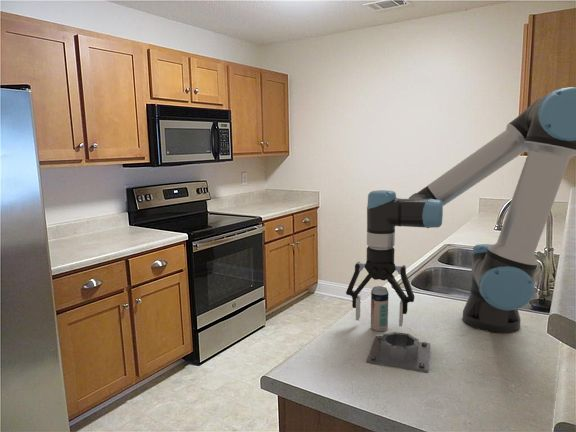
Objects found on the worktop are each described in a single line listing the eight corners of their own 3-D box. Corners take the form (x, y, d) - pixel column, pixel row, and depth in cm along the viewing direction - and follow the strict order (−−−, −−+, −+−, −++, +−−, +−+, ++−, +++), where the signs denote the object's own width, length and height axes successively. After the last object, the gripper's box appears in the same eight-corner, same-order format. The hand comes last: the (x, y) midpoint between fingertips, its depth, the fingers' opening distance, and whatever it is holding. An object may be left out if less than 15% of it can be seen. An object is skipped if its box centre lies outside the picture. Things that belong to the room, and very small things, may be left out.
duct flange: (430, 345, 106) (430, 332, 106) (427, 372, 94) (428, 358, 93) (375, 337, 111) (375, 325, 111) (366, 362, 99) (366, 348, 98)
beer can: (375, 323, 120) (376, 284, 118) (390, 328, 117) (391, 287, 115) (367, 329, 117) (368, 289, 115) (382, 334, 114) (383, 292, 112)
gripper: (426, 246, 112) (423, 321, 116) (341, 241, 121) (341, 311, 124) (425, 252, 106) (422, 332, 109) (335, 246, 114) (335, 320, 117)
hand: (379, 321), depth 117 cm, fingers open, 11 cm apart
